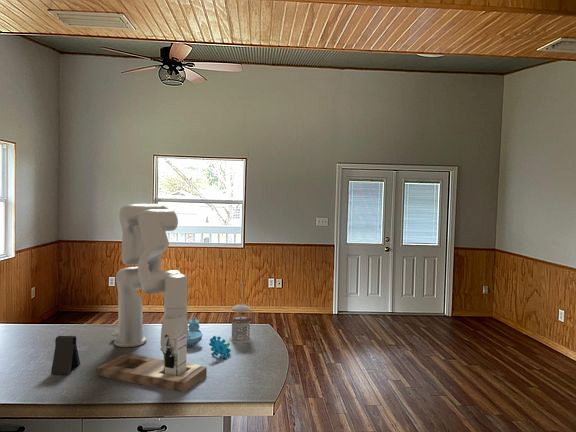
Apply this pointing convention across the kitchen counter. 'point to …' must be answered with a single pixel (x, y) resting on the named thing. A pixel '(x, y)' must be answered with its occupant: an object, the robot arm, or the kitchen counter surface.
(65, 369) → the phone stand
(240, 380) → the kitchen counter surface
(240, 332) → the french press
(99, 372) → the tray
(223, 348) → the gear
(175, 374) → the syrup box
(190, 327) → the light blue rounded piece
